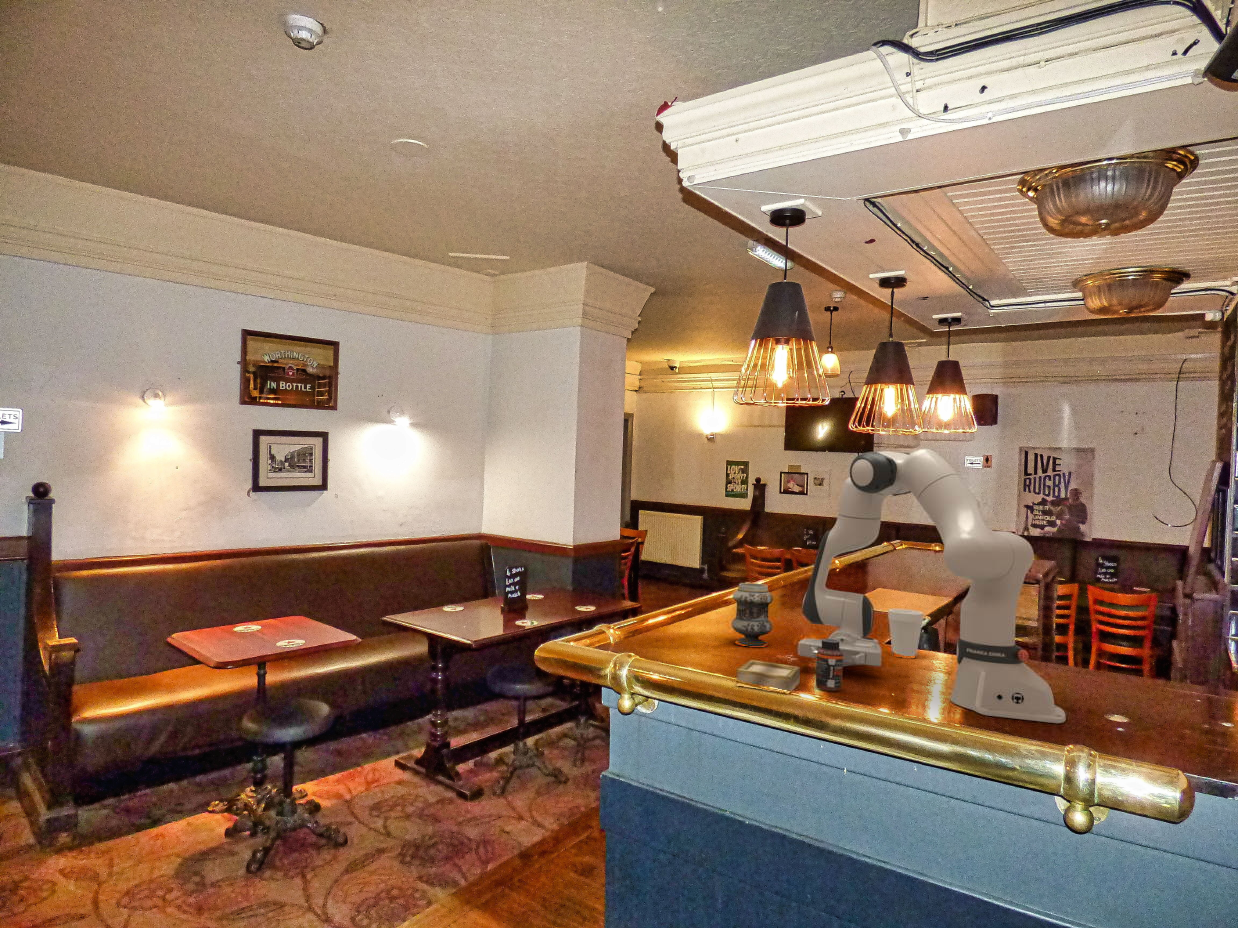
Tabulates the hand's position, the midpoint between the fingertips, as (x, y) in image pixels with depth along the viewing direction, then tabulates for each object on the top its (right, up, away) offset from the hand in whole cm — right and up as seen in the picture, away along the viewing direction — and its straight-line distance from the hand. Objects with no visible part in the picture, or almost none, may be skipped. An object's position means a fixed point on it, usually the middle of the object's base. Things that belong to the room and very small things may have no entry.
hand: (834, 657), depth 178 cm
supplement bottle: (-4, -6, -7) cm, 10 cm away
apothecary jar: (-13, -7, +41) cm, 43 cm away
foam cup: (+30, -9, +35) cm, 47 cm away
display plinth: (-17, -5, -6) cm, 19 cm away
